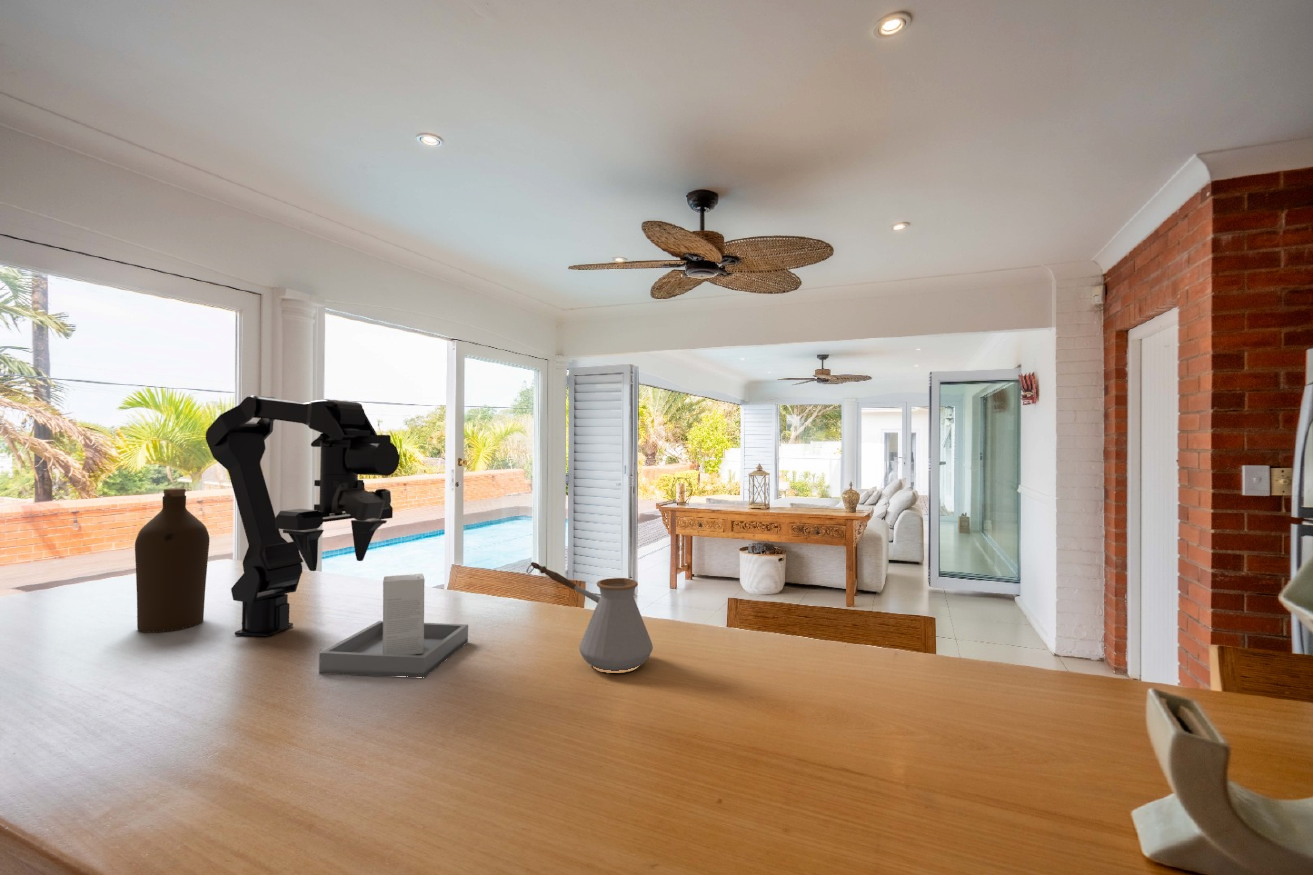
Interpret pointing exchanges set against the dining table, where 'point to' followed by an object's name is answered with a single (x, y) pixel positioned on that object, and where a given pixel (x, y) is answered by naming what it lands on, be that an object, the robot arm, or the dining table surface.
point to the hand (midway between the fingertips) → (337, 565)
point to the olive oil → (171, 567)
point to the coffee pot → (611, 624)
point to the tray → (368, 658)
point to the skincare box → (403, 614)
